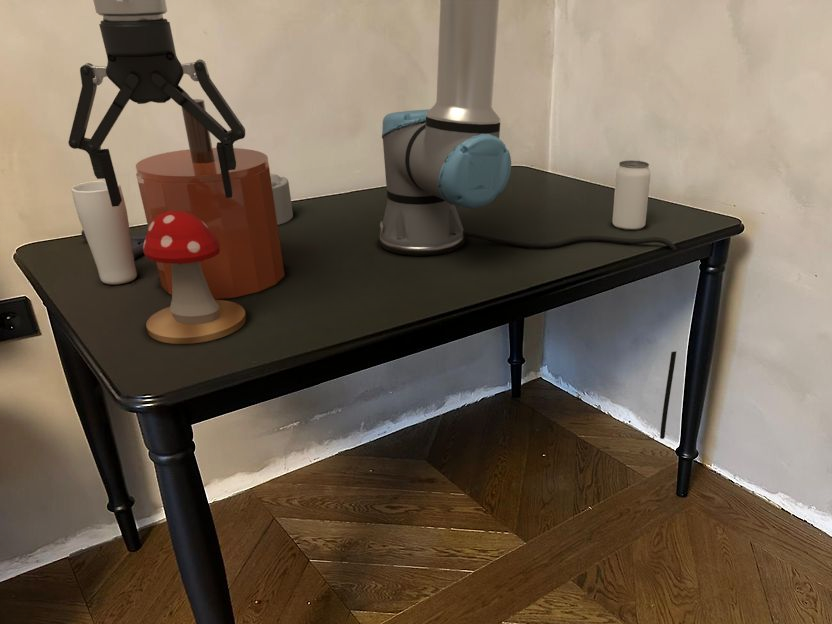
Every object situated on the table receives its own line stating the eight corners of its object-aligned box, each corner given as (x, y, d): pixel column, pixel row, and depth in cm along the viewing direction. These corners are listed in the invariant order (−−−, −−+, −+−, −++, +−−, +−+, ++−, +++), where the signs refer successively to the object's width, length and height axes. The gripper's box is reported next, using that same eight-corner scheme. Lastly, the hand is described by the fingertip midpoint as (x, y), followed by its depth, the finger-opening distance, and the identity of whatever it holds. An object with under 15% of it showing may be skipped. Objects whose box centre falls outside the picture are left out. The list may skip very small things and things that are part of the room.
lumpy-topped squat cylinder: (218, 221, 148) (209, 177, 144) (274, 207, 157) (268, 165, 153) (248, 232, 142) (241, 186, 138) (305, 217, 151) (300, 173, 147)
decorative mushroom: (145, 325, 103) (118, 218, 96) (183, 302, 111) (160, 200, 103) (210, 333, 101) (188, 224, 94) (244, 308, 109) (226, 205, 101)
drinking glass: (96, 290, 117) (70, 193, 109) (95, 276, 122) (70, 183, 115) (144, 283, 119) (121, 188, 112) (141, 269, 125) (119, 178, 117)
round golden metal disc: (246, 301, 114) (245, 295, 113) (245, 338, 103) (244, 331, 102) (153, 310, 110) (151, 304, 110) (142, 349, 99) (140, 342, 99)
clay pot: (282, 253, 132) (259, 89, 119) (286, 292, 117) (259, 109, 104) (168, 263, 128) (131, 93, 115) (156, 305, 112) (111, 114, 99)
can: (630, 232, 145) (636, 169, 139) (605, 224, 149) (609, 163, 143) (652, 226, 148) (658, 164, 143) (627, 218, 153) (632, 158, 147)
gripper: (3, 22, 81) (61, 215, 92) (245, 17, 87) (274, 199, 98) (21, 17, 88) (73, 199, 98) (246, 13, 94) (273, 184, 104)
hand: (174, 199), depth 98 cm, fingers open, 13 cm apart
